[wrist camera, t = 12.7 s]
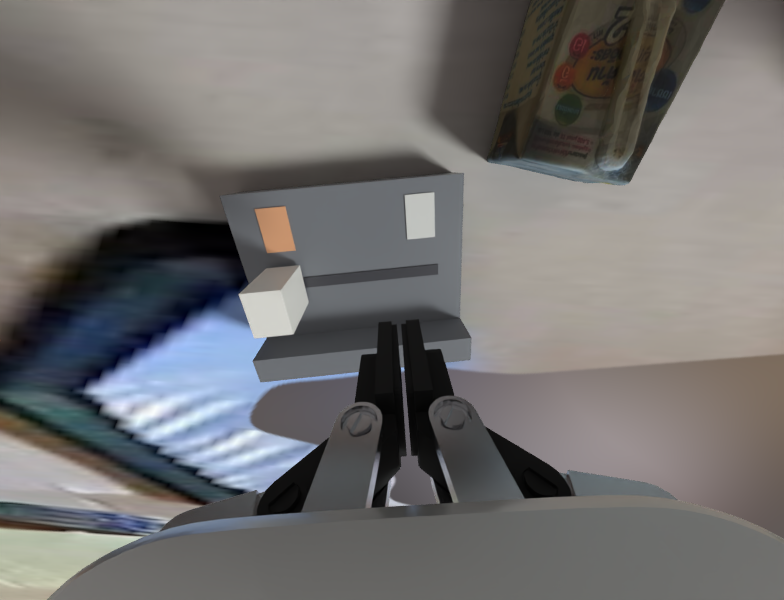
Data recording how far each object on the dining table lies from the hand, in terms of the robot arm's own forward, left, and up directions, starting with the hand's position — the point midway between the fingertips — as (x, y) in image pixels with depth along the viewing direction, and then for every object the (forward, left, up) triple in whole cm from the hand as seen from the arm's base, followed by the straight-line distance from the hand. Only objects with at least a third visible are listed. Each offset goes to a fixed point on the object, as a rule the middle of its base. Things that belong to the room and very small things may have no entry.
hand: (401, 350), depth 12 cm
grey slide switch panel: (+2, 0, -13) cm, 13 cm away
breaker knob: (+8, 0, -10) cm, 12 cm away
